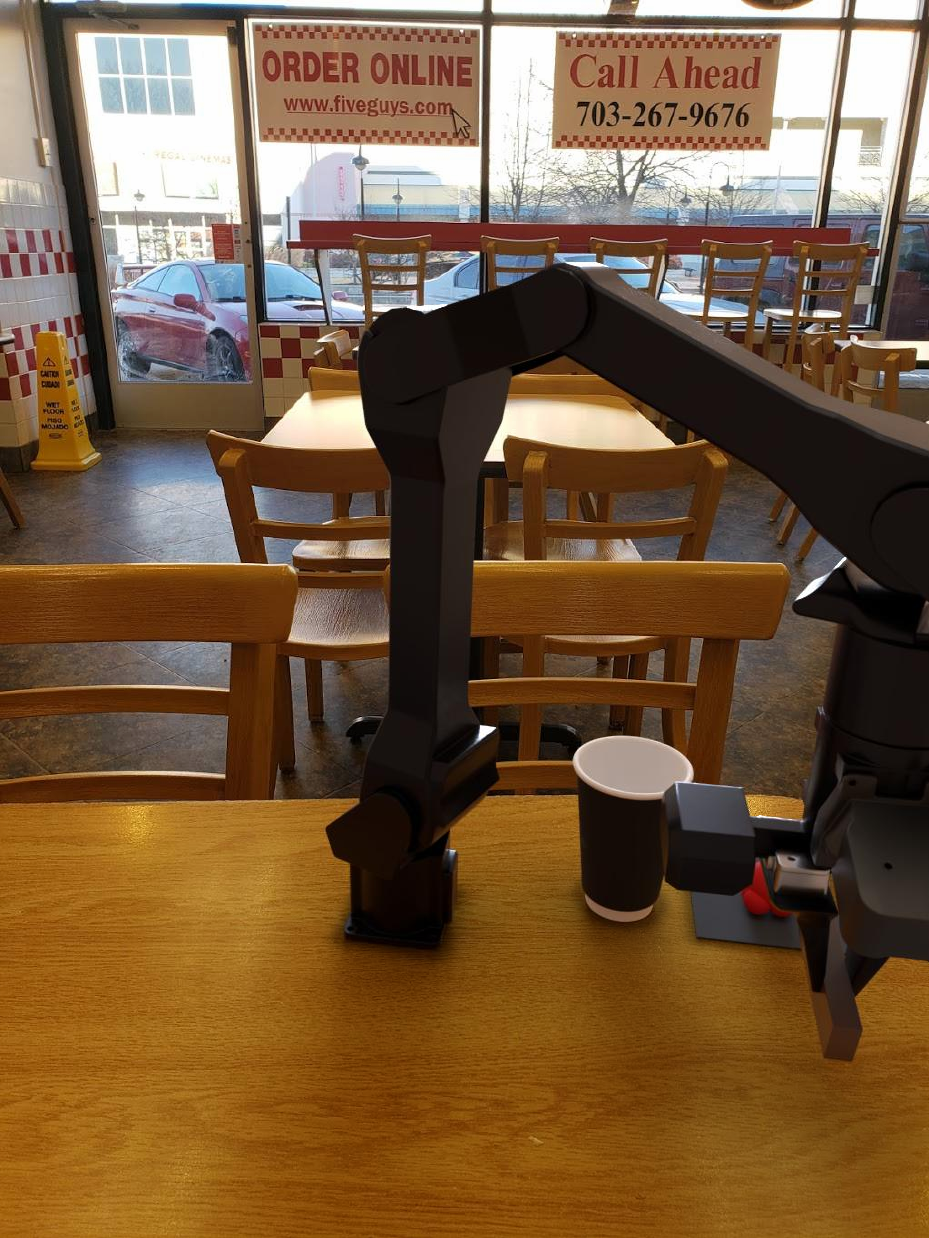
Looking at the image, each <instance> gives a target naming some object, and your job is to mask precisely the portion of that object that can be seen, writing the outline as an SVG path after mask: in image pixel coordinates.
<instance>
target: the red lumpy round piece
mask: <svg viewBox="0 0 929 1238" xmlns="http://www.w3.org/2000/svg"><path fill="white" fill-rule="evenodd" d="M741 894H742V899H743V903H744V905H745V907H746V908H747V910H748V911H750V912H751V913H753V914H757V915H761V914H765V913H767V912H768V911H769V910H770V911H771V912H772V913H773V914H775V915H776V916H779V917H787V916H790V915H791V914H793V913H790V912H782V911H780V910H778V909H776V908H775V907H774V906H773V905H772V904H771V903H770V900H769V897H768V893H767V889H766V885H765V881H764V877H763V873H762V869H761V865H760V862H758V863H756V866H755V872H754V878H753V884H752V885H750V886H749V887H747V888H745V889H744V890H742V891H741Z"/></svg>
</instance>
